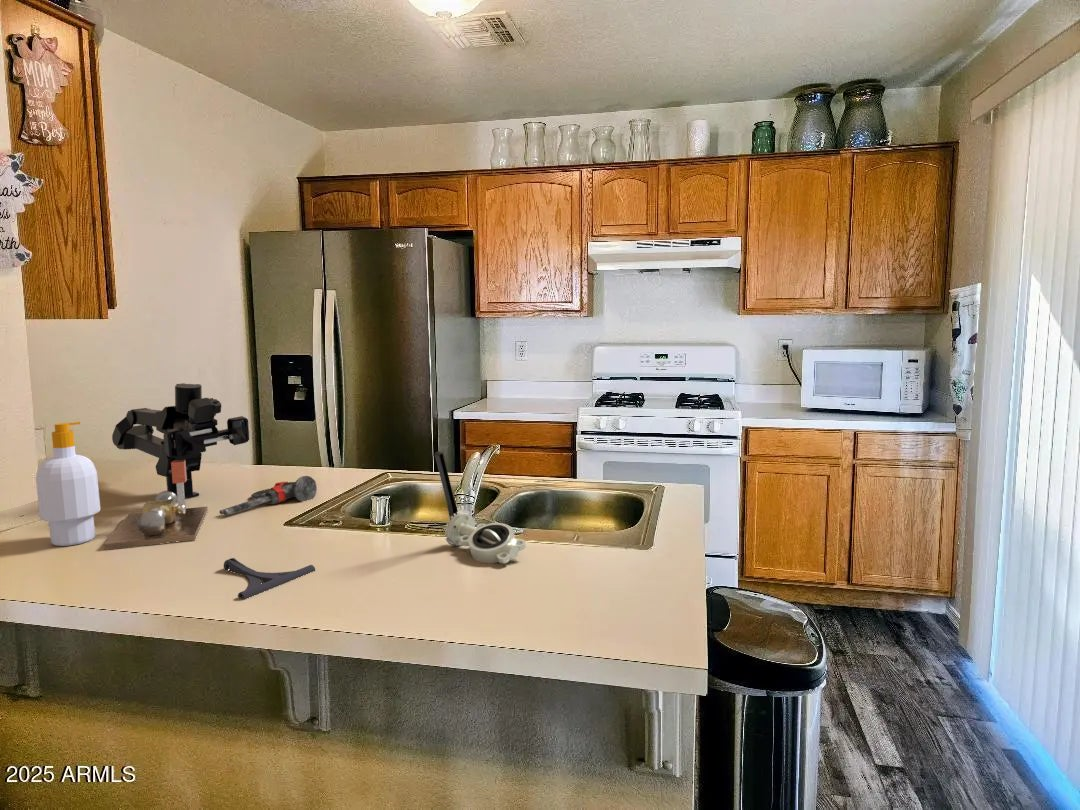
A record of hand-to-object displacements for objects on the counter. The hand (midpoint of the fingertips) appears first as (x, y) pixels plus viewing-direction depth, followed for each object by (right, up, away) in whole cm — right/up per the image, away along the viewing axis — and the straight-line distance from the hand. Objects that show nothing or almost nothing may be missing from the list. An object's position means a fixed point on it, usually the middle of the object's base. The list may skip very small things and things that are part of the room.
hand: (225, 444), depth 156 cm
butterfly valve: (+61, -20, -25) cm, 68 cm away
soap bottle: (-24, -19, -16) cm, 34 cm away
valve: (+4, -15, +12) cm, 20 cm away
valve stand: (-10, -18, -8) cm, 22 cm away
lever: (-6, -14, -7) cm, 17 cm away
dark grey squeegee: (+21, -22, -35) cm, 46 cm away
